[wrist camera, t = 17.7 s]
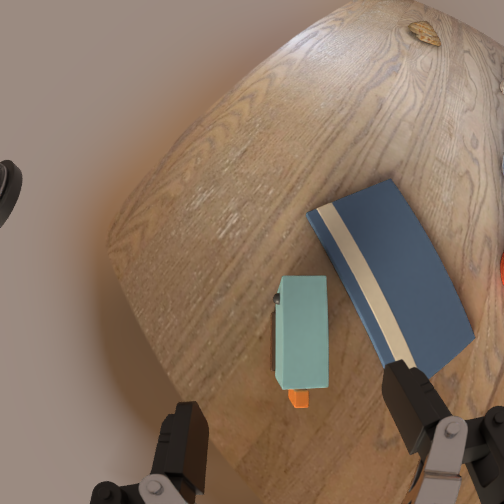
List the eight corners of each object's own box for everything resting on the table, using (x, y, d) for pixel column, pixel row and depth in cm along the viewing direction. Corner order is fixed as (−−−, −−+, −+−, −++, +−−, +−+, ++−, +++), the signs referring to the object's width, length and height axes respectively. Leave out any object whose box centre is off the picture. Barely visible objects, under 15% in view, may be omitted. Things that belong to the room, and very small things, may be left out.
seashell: (407, 28, 36) (412, 10, 35) (402, 43, 42) (407, 25, 41) (443, 46, 35) (446, 27, 34) (435, 60, 40) (439, 40, 39)
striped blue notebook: (472, 338, 20) (475, 337, 20) (396, 399, 19) (400, 400, 18) (388, 181, 26) (391, 177, 25) (305, 215, 25) (306, 212, 24)
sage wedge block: (309, 391, 20) (333, 409, 13) (268, 392, 20) (273, 413, 13) (308, 299, 22) (331, 275, 15) (269, 300, 22) (274, 275, 15)
